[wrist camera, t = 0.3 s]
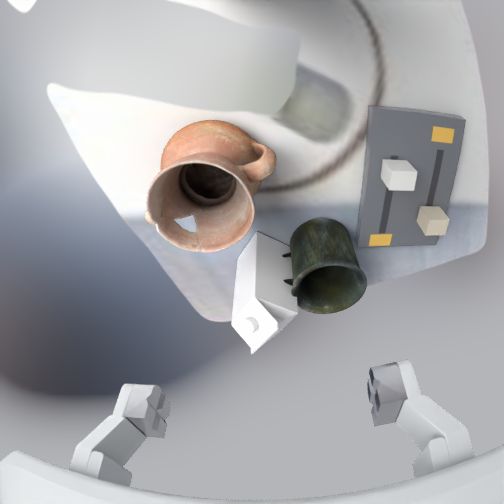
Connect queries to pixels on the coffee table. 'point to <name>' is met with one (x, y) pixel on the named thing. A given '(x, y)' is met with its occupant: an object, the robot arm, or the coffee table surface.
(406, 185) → the off white slider
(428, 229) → the sand slider
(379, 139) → the switch panel
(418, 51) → the coffee table surface
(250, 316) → the milk carton
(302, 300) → the mug
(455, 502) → the robot arm
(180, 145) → the ceramic jug
